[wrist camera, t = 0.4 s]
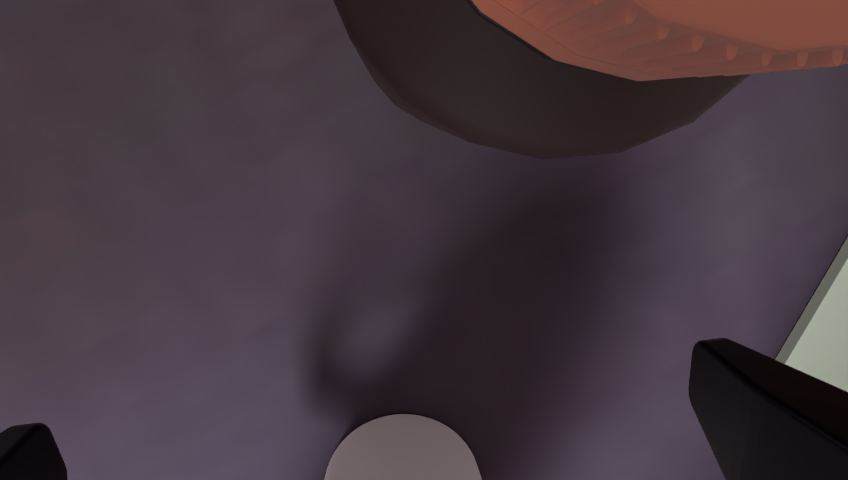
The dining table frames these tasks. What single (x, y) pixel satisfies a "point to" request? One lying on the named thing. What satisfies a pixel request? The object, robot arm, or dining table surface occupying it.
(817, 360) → the mat
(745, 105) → the dining table surface
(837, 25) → the bottle
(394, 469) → the mug
